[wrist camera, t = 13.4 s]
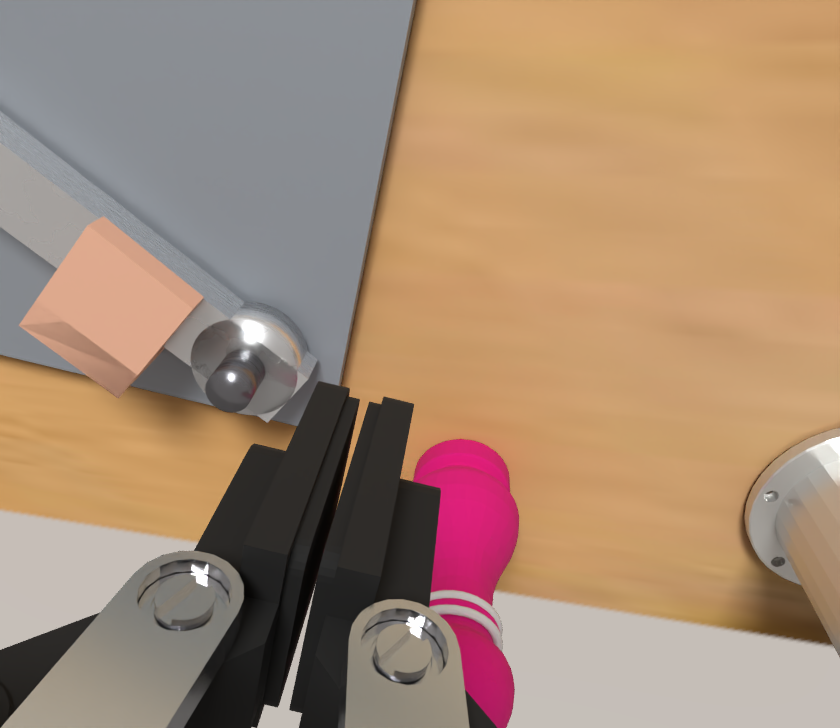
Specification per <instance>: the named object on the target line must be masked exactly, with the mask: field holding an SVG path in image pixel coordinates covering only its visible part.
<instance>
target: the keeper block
mask: <svg viewBox="0 0 840 728" xmlns="http://www.w3.org/2000/svg"><path fill="white" fill-rule="evenodd" d="M203 298H204V297H203V296H202V295H201V294H200V293H198V292H197V291H196V290H195V289H193V288H192V287H191V286H190V285H188V284H187V283H186V282H185V281H183V280H182V279H181V278H180V277H178V276H177V275H176V274H175V273H174V272H172V271H171V270H170V269H169V268H167V267H166V266H165V265H164V264H162V263H161V262H160V261H159V260H157V259H156V258H155V257H154V256H152V255H151V254H150V253H149V252H147V251H146V250H145V249H144V248H143V247H141V246H140V245H139V244H138V243H136V242H135V241H134V240H133V239H131V238H130V237H129V236H128V235H126V234H125V233H124V232H123V231H121V230H120V229H119V228H118V227H117V226H115V225H114V224H113V223H112V222H110V221H109V220H108V219H107V218H105V217H104V216H103V217H101V218H100V219H98V220H96V221H94V222H92V223H91V224H89V225H87V227H86V228H85V230H84V231H83V233H82V234H81V236H80V237H79V238H78V240H77V241H76V243H75V244H74V246H73V247H72V249H71V250H70V252H69V253H68V254H67V256H66V257H65V259H64V260H63V262H62V263H61V265H60V266H59V268H58V269H57V270H56V272H55V273H54V275H53V276H52V278H51V279H50V281H49V282H48V284H47V285H46V286H45V288H44V289H43V291H42V292H41V294H40V295H39V297H38V298H37V300H36V301H35V302H34V304H33V305H32V307H31V308H30V310H29V311H28V313H27V314H26V315H25V317H24V318H23V320H22V321H21V323H20V324H19V326H20V327H21V328H23V329H24V330H25V331H27V332H28V333H29V334H31V335H32V336H34V337H35V338H36V339H38V340H39V341H40V342H42V343H43V344H45V345H46V346H47V347H49V348H50V349H51V350H53V351H54V352H55V353H57V354H58V355H60V356H61V357H62V358H64V359H65V360H66V361H68V362H69V363H71V364H72V365H73V366H75V367H76V368H77V369H79V370H80V371H81V372H83V373H84V374H86V375H87V376H88V377H90V378H91V379H92V380H94V381H95V382H96V383H98V384H99V385H101V386H102V387H103V388H105V389H106V390H107V391H109V392H110V393H112V394H113V395H114V396H116V397H117V398H119V397H120V396H121V395H122V394H123V393H124V392H125V391H126V390H127V389H128V387H129V386H130V385H131V384H132V383H133V382H134V381H135V380H136V379H137V378H138V377H139V376H140V375H141V374H142V373H143V371H144V370H145V369H146V368H147V367H148V366H149V365H150V364H151V363H152V362H153V361H154V360H155V359H156V358H157V357H158V355H159V354H160V353H161V352H162V351H163V350H164V349H165V348H164V347H163V346H164V345H165V344H166V342H167V341H168V340H169V339H170V338H171V336H172V335H173V334H174V333H175V332H176V330H177V329H178V328H179V327H180V326H181V324H182V323H183V322H184V321H185V320H186V318H187V317H188V316H189V315H190V314H191V312H192V311H193V310H194V309H195V308H196V306H197V305H198V304H199V303H200V302H201V300H202V299H203Z"/></svg>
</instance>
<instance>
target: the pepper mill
mask: <svg viewBox="0 0 840 728" xmlns="http://www.w3.org/2000/svg"><path fill="white" fill-rule="evenodd" d="M413 482H417V483H421V484H425V485H429V486H433V487H437V488H440V489H441V498H440V508H439V517H438V527H437V537H436V546H435V556H434V566H433V575H432V585H431V595H430V605H429V608H430V609H432V610H434V611H435V612H436V613H437V614H439V615H440V616H441V617H442V618H443V619H444V620H445V621H446V622H447V623H448V624H449V626H450V627H451V629H452V630H453V632H454V633H455V635H456V638H457V641H458V645H459V648H460V653H461V661H462V670H463V678H464V686H465V690H466V691H467V692H468V693H469V694H470V696H471V697H472V698H473V699H474V700H475V702H476V703H477V704H478V705H479V706H480V708H481V709H482V710H483V711H484V712H485V713H486V715H487V716H488V717H489V718H490V719H491V721H492V722H493V723H494V724H495V725H496V727H497V728H506V727H507V724H508V722H509V719H510V717H511V714H512V709H513V701H514V690H515V689H514V682H513V675H512V672H511V668H510V666H509V664H508V662H507V660H506V658H505V656H504V654H503V653H502V648H503V641H502V630H503V629H502V623H501V620H500V617H499V615H498V613H497V612H496V611H495V610H494V608H493V607H492V601H493V593H494V590H495V587H496V584H497V582H498V580H499V578H500V576H501V574H502V573H503V571H504V569H505V568H506V566H507V564H508V563H509V561H510V559H511V557H512V554H513V552H514V549H515V546H516V542H517V538H518V529H519V514H518V509H517V506H516V503H515V500H514V498H513V497H512V495H511V494H510V482H509V472H508V469H507V467H506V464H505V463H504V461H503V459H502V458H501V457H500V456H499V455H498V454H497V453H496V452H495V451H494V450H492V449H491V448H489V447H488V446H486V445H484V444H482V443H479V442H476V441H472V440H464V439H456V440H449V441H445V442H442V443H439V444H437V445H435V446H433V447H431V448H430V449H429V450H427V451H426V452H425V453H424V454H423V455H422V456H421V458H420V459H419V461H418V463H417V466H416V469H415V474H414V480H413Z"/></svg>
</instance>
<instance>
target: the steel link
mask: <svg viewBox="0 0 840 728" xmlns="http://www.w3.org/2000/svg"><path fill="white" fill-rule="evenodd" d="M103 216H104V217H105V218H107V219H108V220H109V221H110V222H112V223H113V224H114V225H115V226H117V227H118V228H119V229H120V230H121V231H123V232H124V233H125V234H126V235H128V236H129V237H130V238H131V239H133V240H134V241H135V242H136V243H138V244H139V245H140V246H141V247H143V248H144V249H145V250H146V251H147V252H149V253H150V254H151V255H152V256H154V257H155V258H156V259H157V260H159V261H160V262H161V263H162V264H164V265H165V266H166V267H167V268H169V269H170V270H171V271H172V272H174V273H175V274H176V275H177V276H178V277H180V278H181V279H182V280H183V281H185V282H186V283H187V284H188V285H190V286H191V287H192V288H193V289H195V290H196V291H197V292H198V293H200V294H201V295H202V296H203V297H204V298H203V299H202V300H201V302H200V303H199V304H198V305H197V306H196V308H195V309H194V310H193V311H192V312H191V314H190V315H189V316H188V317H187V318H186V320H185V321H184V322H183V323H182V324H181V326H180V327H179V328H178V329H177V330H176V332H175V333H174V334H173V335H172V336H171V338H170V339H169V340H168V341H167V342H166V344H165V345H164V346H163V347H164V348H166V349H167V350H169V351H170V352H171V353H173V354H174V355H175V356H177V357H178V358H179V359H181V360H182V361H184V362H185V363H186V364H188V365H189V366H190V367H191V368H192V372H193V375H194V377H195V379H196V382H197V383H198V385H199V386H200V388H201V389H202V391H203V392H204V393H205V394H206V395H207V398H208V399H209V401H210V402H211V403H212V404H213V405H214V406H215V407H216V408H218V409H220V410H222V411H225V412H236V413H239V414H245V415H257V416H258V417H260V418H261V419H262V420H264V421H265V422H267V423H268V422H269V421H270V420H271V418H272V417H273V416H274V415H275V414H276V413H277V412H278V411H279V410H280V409H281V408H282V407H283V406H284V405H285V404H286V402H287V401H288V400H289V399H290V398H291V397H292V396H293V395H294V394H295V393H296V392H297V391H298V390H299V389H300V388H301V386H302V385H303V384H304V383H305V382H306V381H307V380H308V379H309V377H310V375H311V373H312V370H313V368H314V366H315V364H316V362H317V360H318V359H317V358H316V357H315V356H313V355H312V354H311V353H309V352H308V351H307V345H306V342H305V339H304V336H303V334H302V333H301V331H300V329H299V328H298V326H297V325H296V324H295V323H294V322H293V320H292V319H290V318H289V317H288V316H287V315H286V314H284V313H283V312H281V311H280V310H278V309H276V308H274V307H272V306H269V305H266V304H263V303H258V302H244V301H243V300H242V299H240V298H239V297H238V296H236V295H235V294H234V293H233V292H231V291H230V290H229V289H227V288H226V287H225V286H224V285H222V284H221V283H220V282H219V281H217V280H216V279H215V278H213V277H212V276H211V275H210V274H208V273H207V272H206V271H204V270H203V269H202V268H201V267H199V266H198V265H197V264H195V263H194V262H193V261H192V260H190V259H189V258H188V257H187V256H185V255H184V254H183V253H181V252H180V251H179V250H178V249H176V248H175V247H174V246H172V245H171V244H170V243H169V242H167V241H166V240H165V239H163V238H162V237H161V236H160V235H158V234H157V233H156V232H154V231H153V230H152V229H151V228H149V227H148V226H147V225H146V224H144V223H143V222H142V221H140V220H139V219H138V218H137V217H135V216H134V215H133V214H131V213H130V212H129V211H128V210H126V209H125V208H124V207H122V206H121V205H120V204H119V203H117V202H116V201H115V200H113V199H112V198H111V197H110V196H108V195H107V194H106V193H105V192H103V191H102V190H101V189H99V188H98V187H97V186H96V185H94V184H93V183H92V182H90V181H89V180H88V179H87V178H85V177H84V176H83V175H81V174H80V173H79V172H78V171H76V170H75V169H74V168H73V167H71V166H70V165H69V164H67V163H66V162H65V161H64V160H62V159H61V158H60V157H58V156H57V155H56V154H55V153H53V152H52V151H51V150H49V149H48V148H47V147H46V146H44V145H43V144H42V143H40V142H39V141H38V140H37V139H35V138H34V137H33V136H32V135H30V134H29V133H28V132H26V131H25V130H24V129H23V128H21V127H20V126H19V125H17V124H16V123H15V122H14V121H12V120H11V119H10V118H8V117H7V116H6V115H5V114H3V113H2V112H1V111H0V227H1V228H2V229H4V230H5V231H7V232H8V233H9V234H11V235H12V236H13V237H15V238H16V239H17V240H19V241H20V242H21V243H23V244H24V245H26V246H27V247H28V248H30V249H31V250H32V251H34V252H35V253H36V254H38V255H39V256H41V257H42V258H43V259H45V260H46V261H47V262H49V263H50V264H51V265H53V266H54V267H56V268H57V269H58V268H59V266H60V265H61V263H62V262H63V260H64V259H65V257H66V256H67V254H68V253H69V252H70V250H71V249H72V247H73V246H74V244H75V243H76V241H77V240H78V238H79V237H80V236H81V234H82V233H83V231H84V230H85V228H86V227H87V225H89V224H91V223H92V222H94V221H96V220H98V219H100V218H101V217H103Z"/></svg>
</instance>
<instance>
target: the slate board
mask: <svg viewBox="0 0 840 728" xmlns="http://www.w3.org/2000/svg"><path fill="white" fill-rule="evenodd" d="M416 1H417V0H0V111H1V112H2V113H3V114H5V115H6V116H7V117H8V118H10V119H11V120H12V121H14V122H15V123H16V124H17V125H19V126H20V127H21V128H23V129H24V130H25V131H26V132H28V133H29V134H30V135H32V136H33V137H34V138H35V139H37V140H38V141H39V142H40V143H42V144H43V145H44V146H46V147H47V148H48V149H49V150H51V151H52V152H53V153H55V154H56V155H57V156H58V157H60V158H61V159H62V160H64V161H65V162H66V163H67V164H69V165H70V166H71V167H73V168H74V169H75V170H76V171H78V172H79V173H80V174H81V175H83V176H84V177H85V178H87V179H88V180H89V181H90V182H92V183H93V184H94V185H96V186H97V187H98V188H99V189H101V190H102V191H103V192H105V193H106V194H107V195H108V196H110V197H111V198H112V199H113V200H115V201H116V202H117V203H119V204H120V205H121V206H122V207H124V208H125V209H126V210H128V211H129V212H130V213H131V214H133V215H134V216H135V217H137V218H138V219H139V220H140V221H142V222H143V223H144V224H146V225H147V226H148V227H149V228H151V229H152V230H153V231H154V232H156V233H157V234H158V235H160V236H161V237H162V238H163V239H165V240H166V241H167V242H169V243H170V244H171V245H172V246H174V247H175V248H176V249H178V250H179V251H180V252H181V253H183V254H184V255H185V256H187V257H188V258H189V259H190V260H192V261H193V262H194V263H195V264H197V265H198V266H199V267H201V268H202V269H203V270H204V271H206V272H207V273H208V274H210V275H211V276H212V277H213V278H215V279H216V280H217V281H219V282H220V283H221V284H222V285H224V286H225V287H226V288H227V289H229V290H230V291H231V292H233V293H234V294H235V295H236V296H238V297H239V298H240V299H242V300H243V301H244V302H258V303H263V304H266V305H269V306H272V307H274V308H276V309H278V310H280V311H281V312H283V313H284V314H286V315H287V316H288V317H289V318H290V319H292V320H293V322H294V323H295V324H296V325H297V326H298V328H299V329H300V331H301V333H302V334H303V336H304V339H305V342H306V345H307V351H308V352H309V353H311V354H312V355H313V356H315V357H316V358H317V359H318V360H317V362H316V364H315V366H314V368H313V370H312V373H311V375H310V377H309V379H308V380H307V381H306V382H305V383H304V384H303V385H302V386H301V388H300V389H299V390H298V391H297V392H296V393H295V394H294V395H293V396H292V397H291V398H290V399H289V400H288V401H287V402H286V404H285V405H284V406H283V407H282V408H281V409H280V410H279V411H278V412H277V413H276V414H275V415H274V416H273V417H272V418H271V420H274V421H278V422H282V423H286V424H290V425H295V426H298V424H299V422H300V420H301V417H302V415H303V413H304V411H305V409H306V406H307V404H308V402H309V400H310V398H311V395H312V393H313V391H314V389H315V387H316V384H317V383H318V381H322V382H326V383H330V384H334V385H338V386H341V382H342V377H343V372H344V367H345V362H346V357H347V352H348V347H349V342H350V337H351V331H352V326H353V321H354V316H355V311H356V306H357V301H358V296H359V291H360V286H361V281H362V276H363V270H364V265H365V260H366V255H367V250H368V245H369V240H370V235H371V230H372V225H373V220H374V215H375V209H376V204H377V199H378V194H379V189H380V184H381V179H382V174H383V169H384V164H385V159H386V154H387V148H388V143H389V138H390V133H391V128H392V123H393V118H394V113H395V108H396V103H397V98H398V92H399V87H400V82H401V77H402V72H403V67H404V62H405V57H406V52H407V47H408V42H409V37H410V31H411V26H412V21H413V16H414V11H415V6H416ZM56 270H57V268H56V267H54V266H53V265H51V264H50V263H49V262H47V261H46V260H45V259H43V258H42V257H41V256H39V255H38V254H36V253H35V252H34V251H32V250H31V249H30V248H28V247H27V246H26V245H24V244H23V243H21V242H20V241H19V240H17V239H16V238H15V237H13V236H12V235H11V234H9V233H8V232H7V231H5V230H4V229H2V228H1V227H0V355H4V356H8V357H12V358H16V359H20V360H24V361H29V362H33V363H37V364H41V365H45V366H49V367H53V368H58V369H62V370H66V371H70V372H74V373H78V374H83V375H86V374H84V373H83V372H81V371H80V370H79V369H77V368H76V367H75V366H73V365H72V364H71V363H69V362H68V361H66V360H65V359H64V358H62V357H61V356H60V355H58V354H57V353H55V352H54V351H53V350H51V349H50V348H49V347H47V346H46V345H45V344H43V343H42V342H40V341H39V340H38V339H36V338H35V337H34V336H32V335H31V334H29V333H28V332H27V331H25V330H24V329H23V328H21V327H20V326H19V324H20V323H21V321H22V320H23V318H24V317H25V315H26V314H27V313H28V311H29V310H30V308H31V307H32V305H33V304H34V302H35V301H36V300H37V298H38V297H39V295H40V294H41V292H42V291H43V289H44V288H45V286H46V285H47V284H48V282H49V281H50V279H51V278H52V276H53V275H54V273H55V272H56ZM130 386H132V387H137V388H141V389H145V390H149V391H153V392H157V393H162V394H166V395H170V396H174V397H178V398H182V399H186V400H191V401H195V402H199V403H203V404H207V405H211V406H214V405H213V404H212V403H211V402H210V401H209V399H208V398H207V395H206V394H205V393H204V392H203V391H202V389H201V388H200V386H199V385H198V383H197V382H196V379H195V377H194V375H193V372H192V368H191V367H190V366H189V365H188V364H186V363H185V362H184V361H182V360H181V359H179V358H178V357H177V356H175V355H174V354H173V353H171V352H170V351H169V350H167V349H166V348H165V349H164V350H163V351H162V352H161V353H160V354H159V355H158V357H157V358H156V359H155V360H154V361H153V362H152V363H151V364H150V365H149V366H148V367H147V368H146V369H145V370H144V371H143V373H142V374H141V375H140V376H139V377H138V378H137V379H136V380H135V381H134V382H133V383H132V384H131V385H130ZM253 416H257V415H253ZM257 417H258V416H257Z"/></svg>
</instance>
